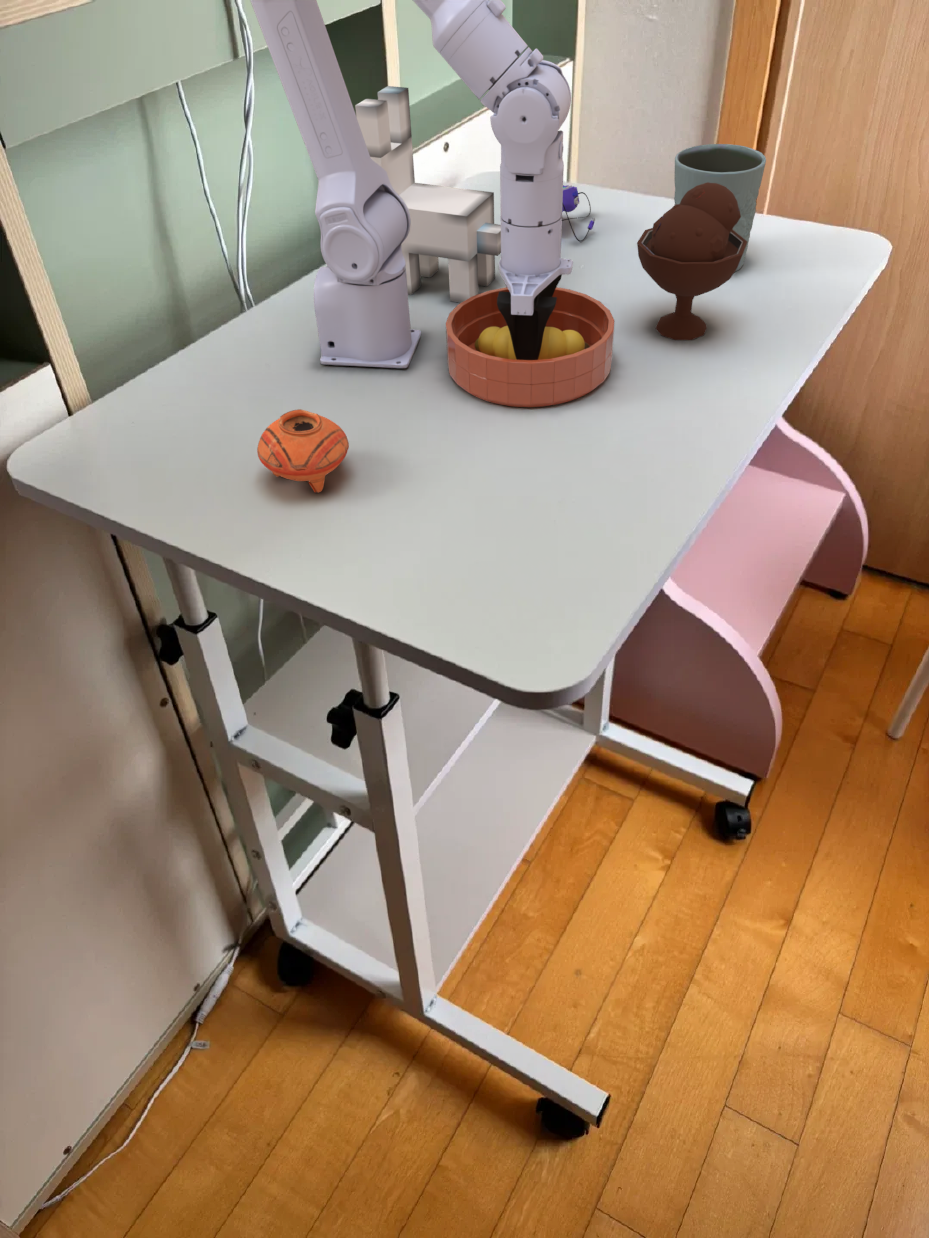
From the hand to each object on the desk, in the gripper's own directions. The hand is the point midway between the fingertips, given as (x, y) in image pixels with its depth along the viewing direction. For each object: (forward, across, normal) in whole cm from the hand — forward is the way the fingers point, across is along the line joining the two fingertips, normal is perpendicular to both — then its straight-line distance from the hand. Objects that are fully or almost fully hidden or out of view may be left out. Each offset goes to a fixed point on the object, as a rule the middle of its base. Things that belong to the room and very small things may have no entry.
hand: (529, 350), depth 98 cm
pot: (+2, -22, +18) cm, 28 cm away
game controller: (+2, +37, 0) cm, 37 cm away
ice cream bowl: (+2, +10, -16) cm, 19 cm away
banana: (+1, 0, 0) cm, 1 cm away
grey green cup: (+2, +28, -18) cm, 34 cm away
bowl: (+2, 0, 0) cm, 2 cm away
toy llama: (+2, +19, +14) cm, 23 cm away
